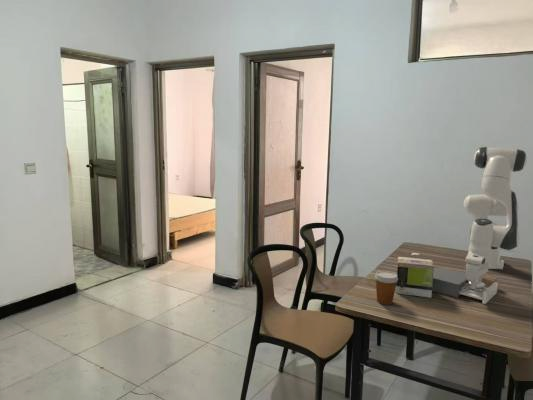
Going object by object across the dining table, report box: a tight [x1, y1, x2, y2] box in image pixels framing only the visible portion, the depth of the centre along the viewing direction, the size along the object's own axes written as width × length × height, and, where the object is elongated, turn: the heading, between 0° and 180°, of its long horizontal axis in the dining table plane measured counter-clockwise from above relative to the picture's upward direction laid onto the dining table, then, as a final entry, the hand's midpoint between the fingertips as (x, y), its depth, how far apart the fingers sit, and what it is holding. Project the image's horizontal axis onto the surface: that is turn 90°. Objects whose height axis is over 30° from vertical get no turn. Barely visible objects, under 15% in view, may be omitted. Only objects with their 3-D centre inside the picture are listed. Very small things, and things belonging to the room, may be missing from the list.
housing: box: [432, 266, 469, 299], centre depth 187 cm, size 18×15×6 cm
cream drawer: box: [459, 282, 498, 305], centre depth 179 cm, size 17×15×5 cm
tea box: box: [395, 256, 435, 299], centre depth 180 cm, size 15×10×15 cm, turn 71°
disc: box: [468, 280, 485, 289], centre depth 178 cm, size 6×6×2 cm
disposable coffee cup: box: [374, 270, 398, 305], centre depth 169 cm, size 10×10×12 cm
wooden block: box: [482, 275, 498, 288], centre depth 187 cm, size 5×5×5 cm
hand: (476, 285), depth 178 cm, fingers closed on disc, 6 cm apart
